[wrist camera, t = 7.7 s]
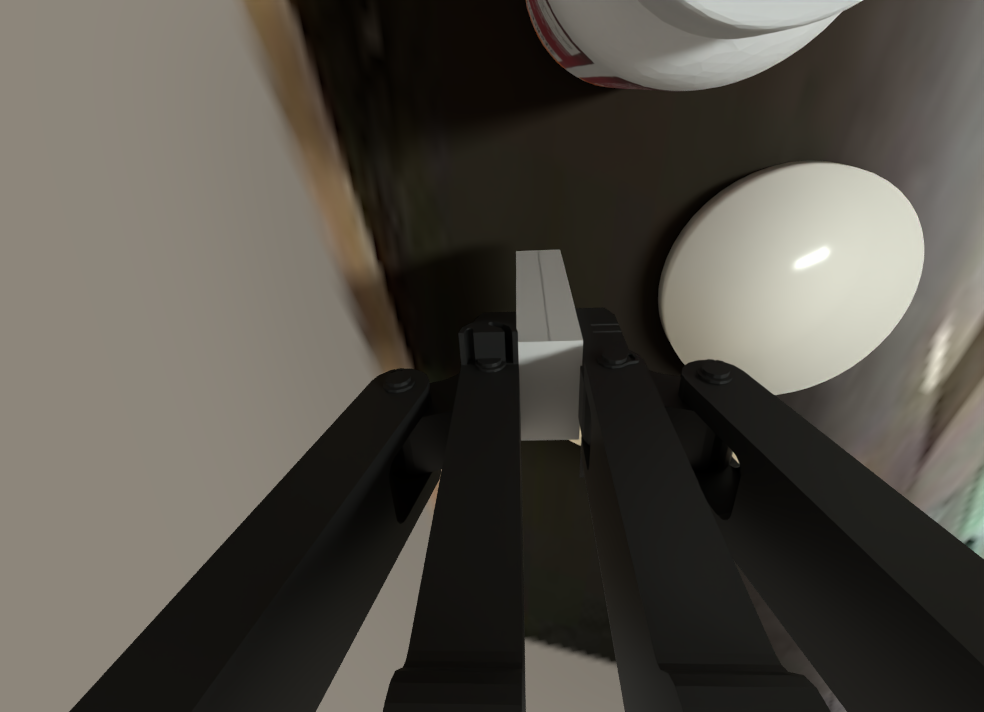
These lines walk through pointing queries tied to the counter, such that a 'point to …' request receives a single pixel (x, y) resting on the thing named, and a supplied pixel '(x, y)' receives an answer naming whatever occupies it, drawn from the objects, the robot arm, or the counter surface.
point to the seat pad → (792, 273)
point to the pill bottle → (676, 38)
